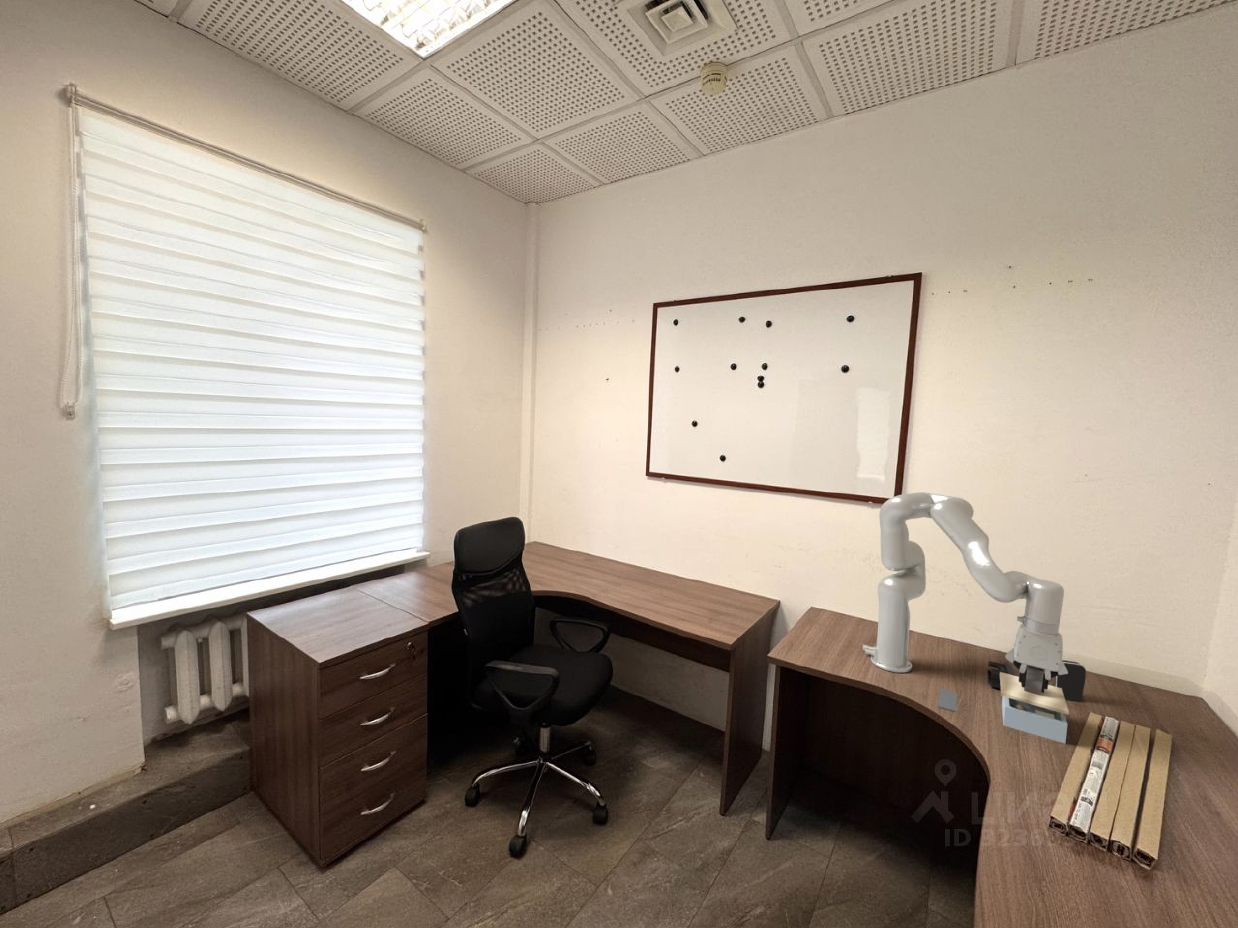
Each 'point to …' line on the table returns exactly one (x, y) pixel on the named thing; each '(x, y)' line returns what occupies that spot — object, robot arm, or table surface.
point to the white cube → (1044, 714)
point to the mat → (947, 700)
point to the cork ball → (1020, 707)
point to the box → (1034, 720)
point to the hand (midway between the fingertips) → (1032, 687)
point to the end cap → (998, 673)
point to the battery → (1072, 681)
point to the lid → (1033, 690)
